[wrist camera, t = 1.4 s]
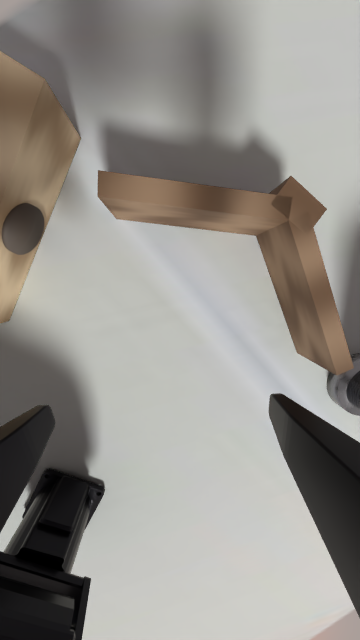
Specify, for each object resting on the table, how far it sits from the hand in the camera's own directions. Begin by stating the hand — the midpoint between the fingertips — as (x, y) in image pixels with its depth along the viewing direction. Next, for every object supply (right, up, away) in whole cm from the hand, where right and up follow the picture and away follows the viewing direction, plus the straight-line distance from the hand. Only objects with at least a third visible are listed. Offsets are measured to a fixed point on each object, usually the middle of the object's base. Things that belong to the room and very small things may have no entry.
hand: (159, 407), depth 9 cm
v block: (+6, +9, +10) cm, 15 cm away
